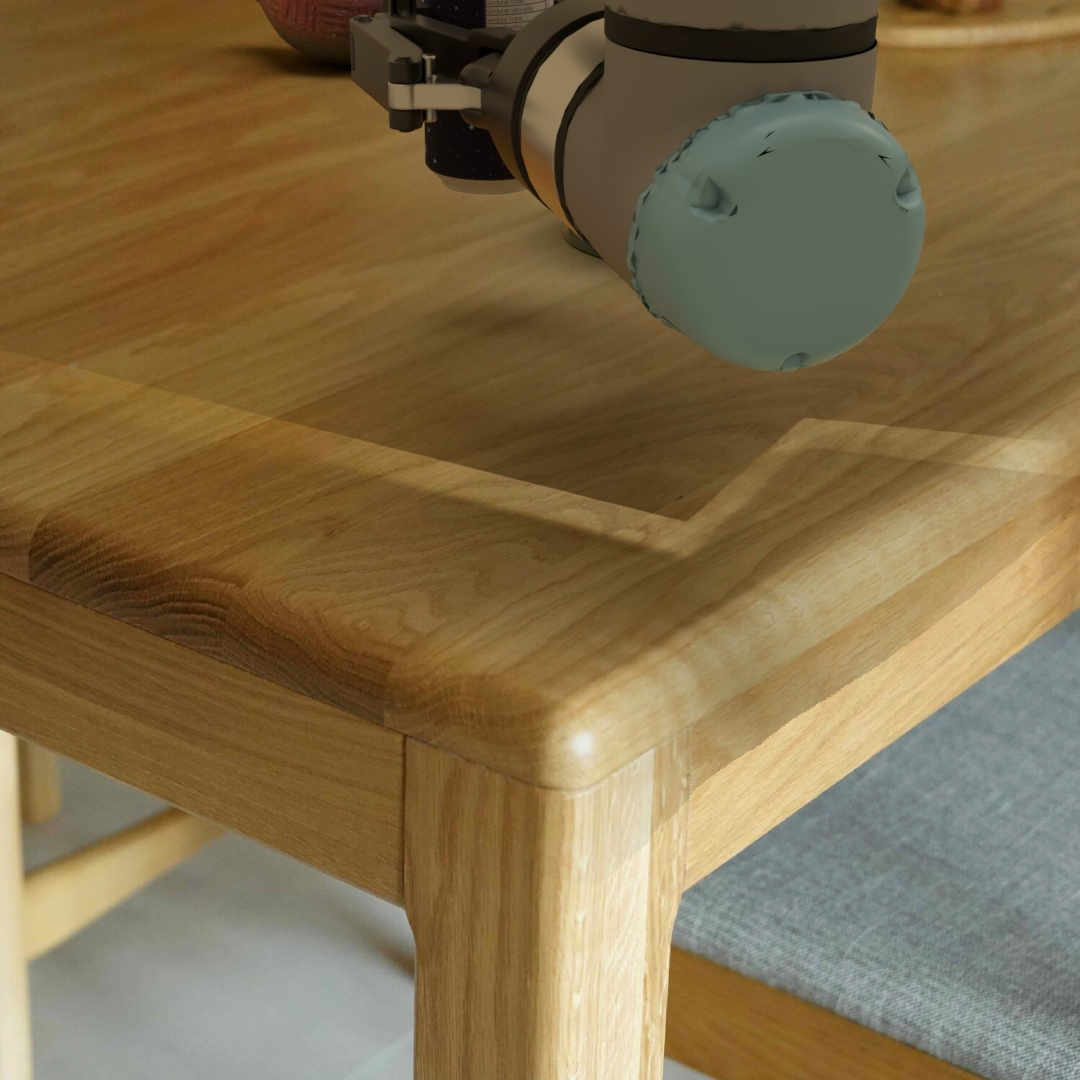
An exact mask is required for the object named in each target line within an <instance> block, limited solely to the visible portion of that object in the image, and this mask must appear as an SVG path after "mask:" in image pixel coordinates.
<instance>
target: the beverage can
mask: <svg viewBox="0 0 1080 1080" xmlns="http://www.w3.org/2000/svg"><path fill="white" fill-rule="evenodd" d="M422 2H424V3H425V4H427V5H428V6H430V7H431V18H432V19H435V20H438V21H442V22H445V23H448V24H451V25H455V26H458V27H461V28H464V29H468V30H472V29H481V28H490V27H500V26H502V27H505V28H508V29H512V30H515V31H519V32H520V31H521V29H522V28H523V27H524V26H525V25H526V24H528V23H529V22H530V21H531V20H532V19H533V18H535V17H536V16H537V15H539V14H540V13H542V12H543V11H545V10H546V9H548V8H550V7H552V6H554V0H422ZM423 125H424V163H425V165H426V167H427V168H428V169H429V170H430V171H431V172H432V173H433V174H434V175H436V176H437V178H439V179H440V180H441V183H442V185H443V186H444V187H445V188H447V189H449V190H452V191H454V192H457V193H464V194H472V195H490V196H491V195H492V196H493V195H507V194H514V193H515V194H516V193H519V192H523V191H526V190H527V189H526V188H525V187H524V186H523V185H522V184H521V183H520V182H519V181H518V180H517V179H516V178H515V177H514V176H513V174H512V173H511V172H510V171H509V169H508V168H507V166H506V165H505V163H504V161H503V160H502V158H501V156H500V154H499V152H498V150H497V148H496V146H495V144H494V141H493V139H492V137H491V134H490V132H489V130H486V129H483V128H479V127H475V126H472V125H470V124H468V123H467V122H466V121H464V119H463V118H462V116H461V114H460V111H459V110H438V109H437V121H435V122H423Z"/></svg>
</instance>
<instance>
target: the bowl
mask: <svg viewBox="0 0 1080 1080" xmlns="http://www.w3.org/2000/svg"><path fill="white" fill-rule="evenodd" d="M255 1H256V2H257V3H258V4H259V6H260V7H261V9H262V11H263V13H264V15H265V16H266V18H267V20H268V22H269V23H270V25H271V26H272V29H274V31H275V32H276V33H277V35H278V36H279V38H281V39H282V41H284V42H285V43H286V44H287V45H289V46H290V47H292V48H293V49H294V50H296V51H298V52H299V53H301V54H303V55H305V56H308V57H310V58H312V59H315V60H319V61H323V62H328V63H333V64H336V65H340V66H350V67H351V51H350V22H349V19H351V18H353V17H356V16H358V15H370V17H372V18H374V15H375V14H376V13H383V0H255Z"/></svg>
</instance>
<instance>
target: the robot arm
mask: <svg viewBox="0 0 1080 1080" xmlns="http://www.w3.org/2000/svg"><path fill="white" fill-rule="evenodd" d="M879 4H880V0H554V6H552V7H550V8H548V9H546V10H545V11H543V12H542V13H540V14H539V15H537V16H536V17H535V18H533V19H532V20H531V21H530V22H529V23H528V24H526V25H525V26H524V27H523V28H522V29H521V31H520V32H519V31H515V30H512V29H508V28H505V27H502V26H500V27H490V28H481V29H472V30H468V29H464V28H461V27H458V26H455V25H451V24H448V23H445V22H442V21H438V20H435V19H432V18H431V7H430V6H428V5H427V4H425V3H424V2H422V0H383V13H376V14H375V15H374V18H372V17H370V15H358V16H356V17H353V18H351V19H349V22H350V51H351V66H350V69H351V71H350V72H351V81H352V82H353V83H354V84H355V85H357V87H359V88H360V89H361V90H362V91H363V92H364V93H366V94H367V95H368V96H369V97H370V98H372V99H373V100H374V101H375V102H376V103H377V104H378V105H380V107H382V108H383V109H384V110H385V111H387V112H388V123H389V124H388V127H389V129H392V130H395V131H398V132H399V133H403V134H404V133H412V132H415V131H416V130H420V129H421V128H422V127H423V125H424V122H435V121H437V109H438V110H459V111H460V114H461V116H462V118H463V119H464V121H466V122H467V123H468V124H470V125H472V126H475V127H479V128H483V129H486V130H489V132H490V134H491V137H492V139H493V141H494V144H495V146H496V148H497V150H498V152H499V154H500V156H501V158H502V160H503V161H504V163H505V165H506V166H507V168H508V169H509V171H510V172H511V173H512V174H513V176H514V177H515V178H516V179H517V180H518V181H519V182H520V183H521V184H522V185H523V186H524V187H525V188H526V190H527V191H528V192H529V193H530V194H531V195H532V196H534V198H535V199H537V201H538V202H540V203H541V204H542V205H543V206H544V207H545V208H547V209H548V210H549V211H550V212H552V213H553V214H554V215H555V216H556V217H558V219H560V220H561V222H562V221H563V222H564V223H565V224H566V225H567V226H568V227H569V228H570V229H571V230H572V231H573V232H574V233H576V234H577V235H578V236H579V237H580V238H581V239H582V240H583V241H584V242H586V243H587V244H588V245H589V246H590V247H591V248H592V249H593V250H594V252H595V253H597V254H598V255H600V256H601V257H602V258H601V257H600V258H601V259H603V261H604V262H605V263H606V264H607V265H608V266H609V267H610V268H611V270H613V271H614V272H615V273H616V274H617V275H618V276H619V277H620V278H621V279H622V280H623V281H624V282H625V284H627V285H628V286H629V288H630V289H632V290H633V292H634V293H636V294H637V297H638V299H639V301H640V303H642V304H643V306H644V307H645V308H646V310H647V312H648V313H649V314H650V315H652V316H653V317H654V318H655V319H656V320H660V323H662V324H663V325H664V326H665V327H667V328H670V329H672V330H674V331H675V332H677V333H679V334H681V335H682V336H684V337H685V338H686V339H688V340H689V341H690V342H692V343H693V344H694V345H696V346H697V347H698V348H700V349H701V350H704V351H706V352H707V353H710V354H712V355H713V356H715V357H717V359H719V360H722V361H724V362H726V363H729V364H732V365H735V366H738V367H740V368H743V369H744V368H745V369H748V370H751V371H758V372H783V373H791V372H795V371H797V370H803V369H807V368H812V367H815V366H818V365H821V364H823V363H826V362H829V361H831V360H833V359H836V358H838V357H839V356H842V355H843V354H845V353H846V352H848V351H850V350H852V349H853V348H855V347H856V346H858V345H859V344H861V343H862V342H863V341H865V340H866V339H867V338H868V337H870V336H871V334H872V333H874V332H875V331H876V330H877V329H878V328H879V327H880V326H881V325H882V324H883V323H884V322H885V321H886V320H887V318H888V317H889V316H890V315H891V314H892V312H893V311H894V310H895V309H896V307H897V305H898V304H899V303H900V301H901V299H902V298H903V296H904V294H905V293H906V291H907V289H908V287H909V286H910V284H911V281H912V280H913V278H914V275H915V273H916V270H917V267H918V264H919V261H920V258H921V254H922V250H923V246H924V240H925V231H926V203H925V201H924V199H923V195H922V194H923V193H922V188H921V185H920V182H919V179H918V176H917V172H916V170H915V168H914V165H913V164H912V162H911V160H910V157H909V155H908V153H907V151H906V150H905V149H904V148H903V146H902V145H901V144H900V142H899V141H898V140H897V138H896V137H895V136H894V135H893V134H892V133H891V132H890V130H889V129H888V128H887V127H886V125H885V124H884V122H883V121H882V120H881V119H876V118H875V114H874V112H872V111H873V100H874V93H875V92H874V91H875V82H876V73H877V66H878V65H877V64H878V54H879V44H880V42H879V41H878V39H877V38H876V35H877V27H878V19H879V6H880V5H879Z"/></svg>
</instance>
